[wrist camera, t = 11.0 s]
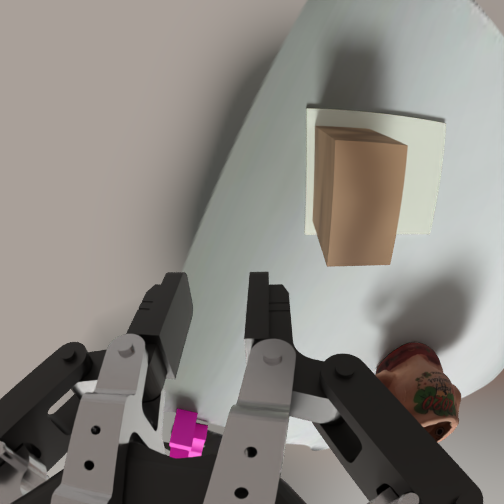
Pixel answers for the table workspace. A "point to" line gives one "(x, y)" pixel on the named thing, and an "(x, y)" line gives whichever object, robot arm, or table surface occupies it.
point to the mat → (417, 165)
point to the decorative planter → (422, 388)
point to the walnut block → (357, 194)
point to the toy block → (187, 435)
